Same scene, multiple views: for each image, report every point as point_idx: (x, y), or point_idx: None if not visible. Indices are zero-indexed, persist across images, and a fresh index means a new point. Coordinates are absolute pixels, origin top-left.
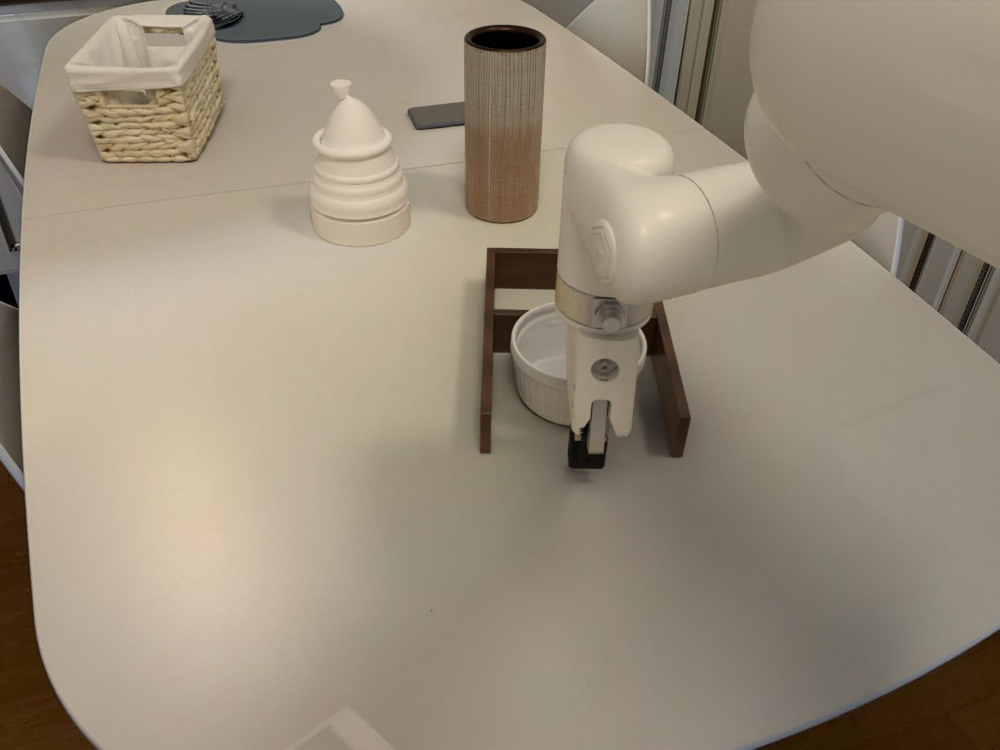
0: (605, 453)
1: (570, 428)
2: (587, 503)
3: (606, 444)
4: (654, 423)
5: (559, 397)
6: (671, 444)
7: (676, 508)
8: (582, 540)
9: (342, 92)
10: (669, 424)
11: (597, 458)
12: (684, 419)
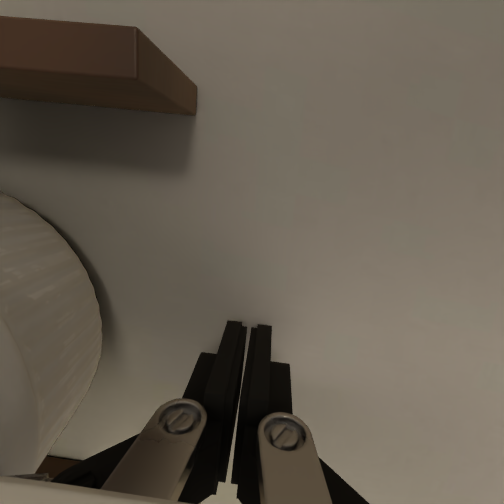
0: (270, 353)
1: (216, 489)
2: (324, 339)
3: (269, 377)
4: (74, 133)
5: (52, 438)
6: (161, 110)
7: (369, 148)
8: (420, 366)
9: None
10: (94, 101)
11: (290, 379)
12: (141, 61)
